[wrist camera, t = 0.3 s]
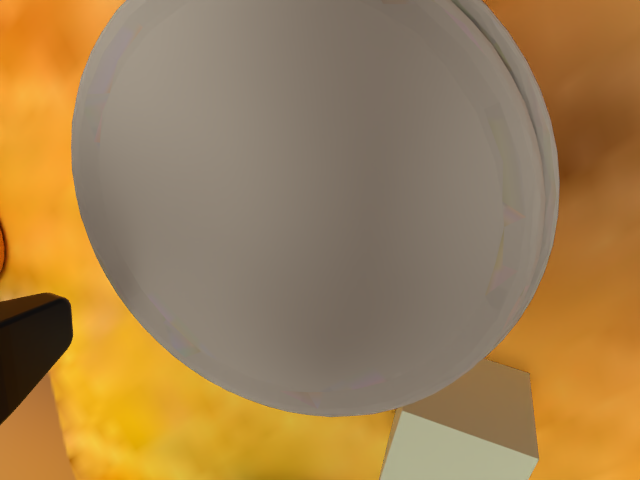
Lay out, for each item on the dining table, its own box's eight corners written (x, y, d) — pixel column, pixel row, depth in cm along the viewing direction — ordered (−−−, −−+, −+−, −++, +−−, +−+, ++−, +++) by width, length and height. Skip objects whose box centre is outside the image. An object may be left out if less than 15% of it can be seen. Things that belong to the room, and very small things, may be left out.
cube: (493, 449, 24) (494, 544, 20) (394, 414, 25) (374, 496, 21) (529, 372, 22) (539, 459, 17) (419, 336, 23) (402, 410, 18)
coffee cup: (267, 191, 22) (67, 340, 12) (301, -43, 18) (35, -138, 7) (472, 252, 20) (454, 495, 10) (563, 7, 16) (700, -22, 6)
